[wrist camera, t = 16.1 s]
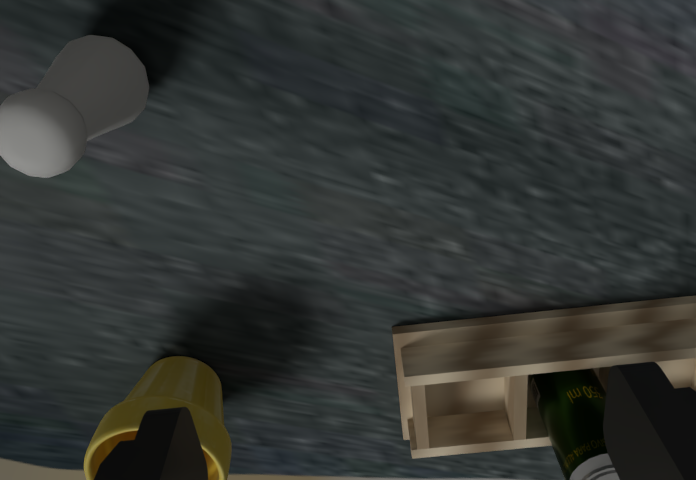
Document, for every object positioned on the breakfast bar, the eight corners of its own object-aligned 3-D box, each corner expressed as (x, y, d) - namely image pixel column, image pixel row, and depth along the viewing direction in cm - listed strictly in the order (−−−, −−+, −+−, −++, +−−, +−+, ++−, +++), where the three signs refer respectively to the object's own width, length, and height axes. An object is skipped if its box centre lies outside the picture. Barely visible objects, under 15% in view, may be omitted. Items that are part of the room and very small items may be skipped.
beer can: (534, 404, 55) (581, 525, 45) (520, 359, 53) (566, 476, 42) (596, 387, 54) (658, 506, 44) (584, 340, 52) (647, 455, 42)
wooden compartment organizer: (726, 292, 51) (758, 326, 47) (702, 402, 57) (730, 441, 53) (391, 326, 52) (396, 362, 48) (402, 431, 58) (407, 471, 54)
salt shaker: (158, 34, 41) (89, 92, 29) (158, 120, 43) (95, 203, 32) (64, 22, 40) (-43, 75, 29) (70, 109, 43) (-25, 190, 32)
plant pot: (164, 442, 58) (134, 538, 50) (97, 363, 54) (52, 453, 45) (264, 406, 56) (251, 499, 48) (204, 321, 52) (178, 407, 43)
